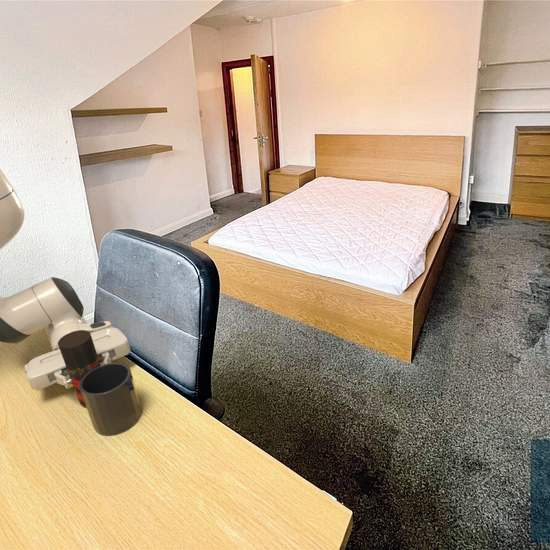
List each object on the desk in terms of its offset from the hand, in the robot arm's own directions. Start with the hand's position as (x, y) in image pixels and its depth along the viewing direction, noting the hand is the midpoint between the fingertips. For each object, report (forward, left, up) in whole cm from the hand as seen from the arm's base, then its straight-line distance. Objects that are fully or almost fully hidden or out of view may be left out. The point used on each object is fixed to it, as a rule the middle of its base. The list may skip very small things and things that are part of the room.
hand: (88, 377), depth 83 cm
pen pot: (+8, -2, -6) cm, 10 cm away
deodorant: (-1, 0, -6) cm, 6 cm away
